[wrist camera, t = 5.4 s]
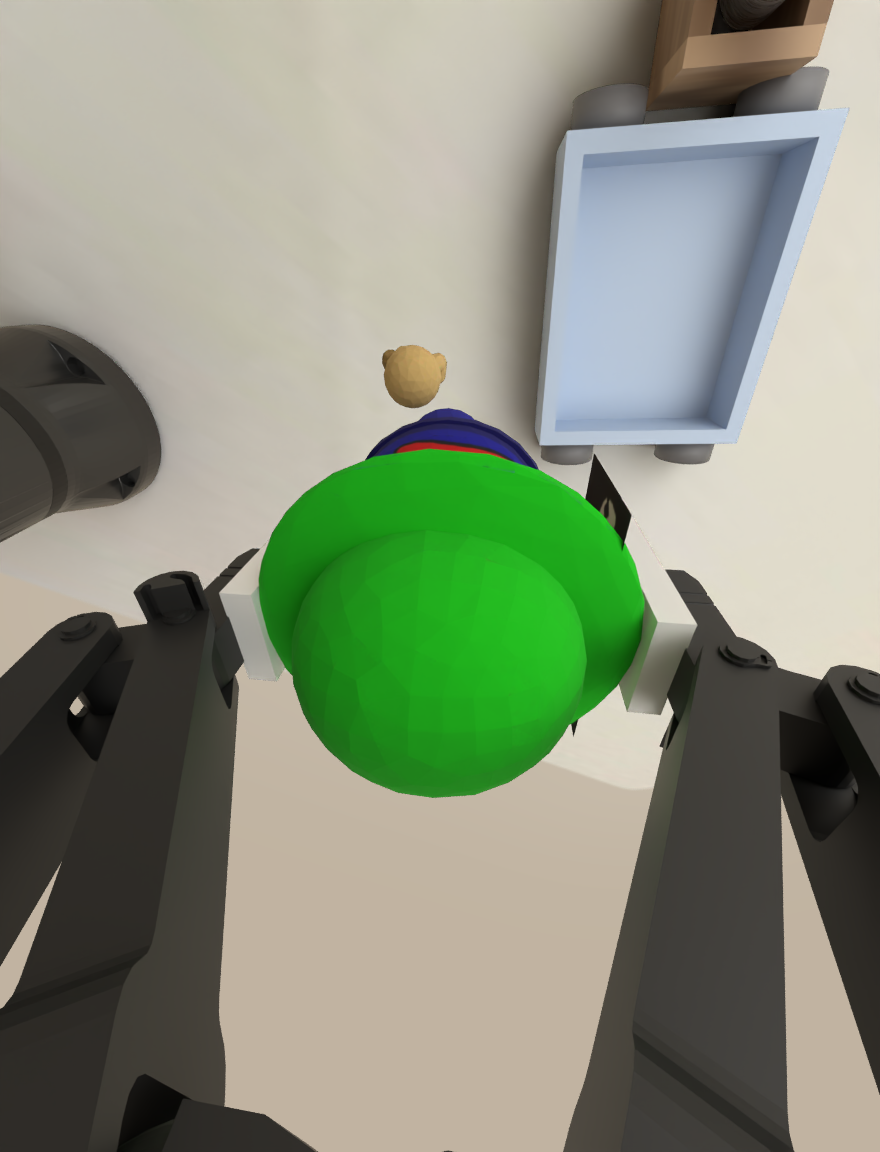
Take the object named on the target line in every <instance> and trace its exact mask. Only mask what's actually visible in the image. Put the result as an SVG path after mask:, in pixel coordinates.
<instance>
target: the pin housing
mask: <svg viewBox="0 0 880 1152" xmlns="http://www.w3.org/2000/svg"><path fill="white" fill-rule="evenodd" d="M833 1H834V0H785V1H784V2H783V3H782V4H781V5H780V6H779V7H778V8H777V9H776V10H775V11H774V12H773V13H772V14H771V15H769V16H768V17H767V18H766V19H765V20H764V21H763V22H762V23H760V24H759V25H757V26H755V27H753V28H752V30H751V31H745V32H735V33H725V34H715V35H711V30H712V25H713V20H714V15H715V10H716V5H717V0H662V6H661V12H660V19H659V25H658V31H657V38H656V44H655V51H654V57H653V64H652V70H651V76H650V83H649V89H648V90H649V93H648V99H647V106H646V111H655V110H667V109H679V108H691V107H703V106H714V105H726V104H736V103H737V99H738V95H739V94H740V93H741V92H742V91H743V90H745V89H747V88H748V87H750V86H753V85H755V84H758V83H760V82H763V81H766V80H769V79H773V78H777V77H781V76H786V75H791V74H793V73H794V72H796V71H797V70H799V69H800V68H801V67H803V66H804V65H806V64H807V63H808V62H810V61H811V60H813V59H814V58H815V57H817V56H818V52H819V49H820V45H821V42H822V39H823V35H824V32H825V28H826V25H827V22H828V18H829V15H830V11H831V8H832V5H833Z"/></svg>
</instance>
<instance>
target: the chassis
mask: <svg viewBox="0 0 880 1152" xmlns="http://www.w3.org/2000/svg"><path fill="white" fill-rule="evenodd" d="M828 75H829V70H828V69H826V68H823V67H801V68H800V69H799V70H797V71H796V72H794V73H793V74H791V75H786V76H781V77H777V78H773V79H769V80H766V81H763V82H760V83H758V84H755V85H753V86H750V87H748V88H747V89H745V90H743V91H742V92H741V93H740V94H739V95H738V99H737V103H736V107H735V111H734V116H733V117H728V118H716V119H704V120H691V121H679V122H667V123H655V124H644V119H645V112H646V106H647V99H648V93H649V90H648V88H647V87H645V86H643V85H639V84H614V85H608V86H603V87H599V88H596V89H592V90H590V91H587V92H585V93H583V94H581V95H579V96H578V97H577V98H575V100H574V101H573V108H572V120H571V130H569V131H567V132H566V134H565V136H564V138H563V140H562V142H561V144H560V146H559V149H558V151H557V153H556V166H555V179H554V191H553V204H552V216H551V229H550V241H549V254H548V266H547V279H546V291H545V304H544V317H543V329H542V342H541V354H540V367H539V379H538V392H537V404H536V417H535V433H536V436H537V439H538V442H539V445H542V450H541V458H542V459H543V460H545V461H547V462H550V463H554V464H561V465H577V464H583V463H586V462H589V461H590V460H591V458H592V452H593V445H631V444H656V447H655V451H654V455H655V456H656V457H657V458H659V459H661V460H664V461H667V462H672V463H678V464H701V463H705V462H708V461H709V460H710V456H711V453H712V450H713V447H714V444H732V443H737V441H738V438H739V435H740V432H741V429H742V426H743V423H744V420H745V417H746V414H747V411H748V408H749V405H750V402H751V399H752V396H753V393H754V390H755V387H756V384H757V381H758V378H759V375H760V372H761V369H762V366H763V363H764V360H765V358H766V355H767V352H768V349H769V346H770V343H771V340H772V337H773V334H774V331H775V328H776V325H777V322H778V319H779V316H780V313H781V310H782V307H783V304H784V301H785V298H786V295H787V292H788V289H789V286H790V283H791V280H792V277H793V274H794V271H795V268H796V266H797V263H798V260H799V257H800V254H801V251H802V248H803V245H804V242H805V239H806V236H807V233H808V230H809V227H810V224H811V221H812V218H813V215H814V212H815V209H816V206H817V203H818V200H819V197H820V194H821V191H822V188H823V185H824V182H825V179H826V176H827V173H828V171H829V168H830V165H831V162H832V159H833V156H834V153H835V150H836V147H837V144H838V141H839V138H840V135H841V132H842V129H843V126H844V123H845V120H846V117H847V114H848V111H849V108H839V109H826V110H818V107H819V104H820V100H821V97H822V94H823V91H824V88H825V84H826V81H827V78H828Z"/></svg>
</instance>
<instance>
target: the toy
mask: <svg viewBox="0 0 880 1152" xmlns="http://www.w3.org/2000/svg"><path fill="white" fill-rule="evenodd" d="M382 364H383V366H384V369H385V372H384V380H385V386H386V388H387V390H388V393H389V395H390V396H391V397H392V398H393V399H394V401H395V402H397V403H398V404H400V405H402V406H405V407H408V408H419V407H422V406H424V405H426V404H428V403H429V402H430V401H431V400H432V399H433V398H434V397H435V396H436V394H437V392H438V389H439V386H440V383H442V382H443V381H444V379H445V375H446V366H447V362H446V359H445V357H444V356H443V355H442V354H440V353H436V354H431V353H430V352H429V351H427V350H426V349H424V348H423V347H419V346H415V345H408V346H400V347H399V348H398V349H397V350H396V351H394V350H387V351H386V352H385V353H384V354H383V357H382ZM631 516H632V514H631V513H630V511H629V510H628V508H627V506H626V505H625V503H624V501H623V500H622V498H621V496H620V495H619V493H618V492H617V490H616V488H615V487H614V485H613V483H612V482H611V480H610V478H609V477H608V475H607V473H606V472H605V470H604V469H603V467H602V465H601V464H600V462H599V460H598V459H597V457H596V455H595V454H594V457H593V463H592V468H591V473H590V478H589V483H588V488H587V493H586V499H584V498H583V497H582V496H581V495H580V494H579V493H578V492H576V491H574V490H573V489H571V488H569V487H567V486H566V485H564V484H562V483H561V482H559V481H557V480H556V479H554V478H552V477H550V476H549V475H547V474H545V473H544V472H542V471H540V470H539V469H538V467H537V465H536V463H535V462H534V460H533V459H532V458H531V457H530V456H529V455H528V453H527V452H526V451H525V450H524V449H523V447H522V446H521V445H520V444H519V443H518V442H517V441H515V440H514V439H512V438H511V437H509V436H508V435H507V434H505V433H504V432H502V431H501V430H499V429H497V428H495V427H492V426H489V425H487V424H484V423H482V422H479V421H477V420H474V419H473V418H472V417H471V416H469V415H468V414H466V413H464V412H462V411H460V410H455V409H450V408H447V409H438V410H435V411H432V412H430V413H428V414H426V415H424V416H423V417H422V418H421V419H420V420H419V421H417V422H414V423H411V424H408V425H405V426H403V427H401V428H399V429H398V430H396V431H395V432H393V433H392V434H390V435H389V436H387V437H385V438H384V439H382V440H381V441H380V442H379V443H378V444H377V445H376V446H375V447H374V448H373V450H372V451H371V452H370V453H369V455H368V456H367V458H366V459H365V461H362V462H360V463H358V464H355V465H353V466H350V467H348V468H345V469H343V470H340V471H338V472H335V473H333V474H331V475H330V476H328V477H327V478H326V479H324V480H323V481H321V482H320V483H318V484H317V485H315V486H314V487H312V488H311V489H310V490H308V491H307V492H305V493H304V494H303V495H302V496H301V497H300V498H299V499H298V500H297V501H296V502H295V503H294V504H293V505H292V506H291V507H290V508H289V509H288V510H287V512H286V513H285V514H284V516H283V517H282V519H281V520H280V522H279V523H278V525H277V526H276V528H275V529H274V531H273V532H272V535H271V537H270V540H269V543H268V545H267V548H266V551H265V553H264V556H263V559H262V562H261V568H260V573H259V597H260V605H261V610H262V614H263V618H264V621H265V625H266V629H267V632H268V636H269V638H270V640H271V642H272V644H273V646H274V648H275V650H276V652H277V654H278V656H279V658H280V659H281V661H282V663H283V664H284V666H285V668H286V669H287V670H288V671H289V672H290V674H291V675H292V676H293V684H294V687H295V690H296V693H297V696H298V699H299V702H300V705H301V708H302V711H303V714H304V715H305V717H306V719H307V721H308V723H309V724H310V726H311V728H312V730H313V731H314V732H315V734H316V735H317V736H318V738H319V739H320V740H321V742H322V743H323V744H324V746H325V747H326V748H327V749H328V750H329V751H330V752H331V753H332V754H333V755H334V756H336V757H337V758H338V759H339V760H340V761H341V762H342V763H343V764H345V765H346V766H347V767H348V768H349V769H350V770H351V771H353V772H355V773H357V774H358V775H360V776H362V777H364V778H365V779H367V780H369V781H371V782H373V783H376V784H378V785H380V786H383V787H385V788H388V789H390V790H393V791H395V792H398V793H404V794H410V795H417V796H425V797H432V798H437V797H451V796H466V795H476V794H478V793H481V792H483V791H487V790H489V789H492V788H495V787H497V786H500V785H503V784H505V783H508V782H510V781H512V780H513V779H515V778H516V777H518V776H519V775H521V774H523V773H524V772H525V771H527V770H528V769H530V768H532V767H533V766H534V765H536V764H537V763H538V762H539V761H540V760H542V759H543V758H544V757H545V756H546V755H547V754H549V753H550V751H551V750H552V749H553V747H554V746H555V745H556V744H557V742H558V741H559V740H560V738H561V737H562V736H563V734H564V732H565V731H566V729H567V727H568V725H570V724H571V725H572V731H573V737H574V733H575V729H576V726H577V722H578V719H579V718H581V717H582V716H583V715H585V714H586V713H588V712H589V711H590V710H592V709H593V708H595V707H596V706H597V705H598V704H599V703H600V702H601V701H602V700H603V699H604V698H605V697H606V696H607V695H608V694H609V693H610V692H611V691H613V690H614V689H615V688H616V687H617V685H618V684H619V682H620V681H621V679H622V678H623V676H624V675H625V673H626V672H627V671H628V669H629V668H630V666H631V665H632V662H633V659H634V657H635V654H636V651H637V649H638V646H639V644H640V641H641V636H642V625H643V615H644V604H645V601H644V597H643V593H642V589H641V585H640V581H639V577H638V573H637V568H636V564H635V562H634V560H633V558H632V556H631V554H630V552H629V550H628V548H627V546H626V544H625V539H626V535H627V531H628V528H629V524H630V520H631Z"/></svg>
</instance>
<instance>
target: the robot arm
mask: <svg viewBox="0 0 880 1152" xmlns="http://www.w3.org/2000/svg"><path fill="white" fill-rule="evenodd" d="M160 459H161V444H160V438H159V433H158V429H157V426H156V423H155V420H154V418H153V415H152V413H151V411H150V409H149V407H148V405H147V403H146V401H145V399H144V398H143V396H142V395H141V393H140V392H139V390H138V389H137V387H136V386H135V385H134V383H133V382H132V381H131V379H130V378H129V377H128V376H127V375H126V374H125V373H124V371H123V370H122V369H121V368H120V367H119V366H118V365H117V364H116V363H115V362H114V361H112V360H111V359H110V358H109V357H108V356H107V355H105V354H104V353H103V352H102V351H100V350H99V349H97V348H96V347H95V346H93V345H92V344H90V343H88V342H87V341H85V340H83V339H82V338H80V337H78V336H76V335H74V334H72V333H69V332H67V331H64V330H61V329H58V328H54V327H51V326H45V325H19V326H7V327H0V543H1V542H2V541H4V540H6V539H8V538H10V537H12V536H14V535H15V534H17V533H19V532H21V531H23V530H25V529H27V528H28V527H30V526H32V525H34V524H36V523H38V522H39V521H41V520H43V519H45V518H47V517H49V516H51V515H53V514H55V513H61V512H68V511H76V510H83V509H90V508H97V507H105V506H111V505H115V504H118V503H121V502H123V501H126V500H127V499H129V498H131V497H133V496H134V495H136V494H138V493H140V492H141V491H143V490H144V489H146V488H147V487H148V486H149V485H150V484H151V482H152V481H153V480H154V478H155V476H156V474H157V472H158V469H159V465H160ZM621 498H622V497H621ZM622 500H623V501H624V499H623V498H622ZM624 503H625V501H624ZM625 505H626V503H625ZM626 506H627V505H626ZM627 508H628V506H627ZM628 510H629V508H628ZM629 511H630V510H629ZM630 513H631V511H630ZM631 514H632V513H631ZM269 540H270V539H269ZM268 543H269V541H268V542H267V543H266V544H265V545H264V546H263V547H262V548H261V549H254V548H253V549H251V550H249V551H247V552H245V553H243V554H242V555H240V556H238V557H237V558H236V559H235V560H234V561H233V562H232V563H231V564H230V565H229V566H228V569H227V568H226V569H225V570H224V571H223V572H222V573H221V574H220V577H217V578H216V579H215V580H214V581H213V582H212V583H211V584H210V585H209V586H208V587H207V588H206V589H205V590H204V591H203V588H202V585H201V583H200V580H199V577H198V576H197V575H196V574H194V573H193V572H188V571H174V572H168V573H164V574H160V575H158V576H155V577H153V578H150V579H148V580H146V581H145V582H143V583H142V584H140V585H139V586H138V587H137V588H136V590H135V591H134V592H133V593H134V595H135V597H136V599H137V601H138V603H139V605H140V607H141V609H142V611H143V613H144V615H145V617H146V619H147V621H148V622H147V624H142V625H135V626H128V627H121V628H118V627H117V625H116V623H115V621H114V619H113V618H112V616H111V615H109V614H107V613H103V612H92V613H86V614H80V615H77V616H74V617H71V618H68V619H67V620H65V621H64V622H61V623H59V624H57V625H56V626H55V627H53V628H52V629H51V630H49V631H48V632H47V633H46V634H45V635H44V636H43V637H42V638H41V639H40V640H39V641H38V642H37V643H36V644H35V645H34V646H33V647H32V648H31V649H30V650H29V651H27V652H26V653H25V654H24V655H23V657H21V658H20V659H19V660H18V661H17V662H16V663H15V664H14V665H13V666H12V667H11V668H10V669H9V670H8V671H7V672H6V673H5V674H4V675H3V676H2V677H1V678H0V966H1V964H2V963H3V961H4V959H5V957H6V956H7V954H8V952H9V951H10V949H11V947H12V945H13V944H14V942H15V940H16V939H17V937H18V935H19V934H20V932H21V930H22V928H23V927H24V925H25V923H26V922H27V920H28V918H29V917H30V915H31V913H32V911H33V910H34V908H35V906H36V905H37V903H38V901H39V899H40V898H41V896H42V894H43V892H44V891H45V889H46V887H47V886H48V884H49V882H50V881H51V879H52V877H53V875H54V873H55V872H56V870H57V868H58V867H59V865H60V864H61V866H60V868H59V871H58V874H57V877H56V880H55V882H54V885H53V888H52V891H51V894H50V896H49V899H48V902H47V905H46V908H45V910H44V914H43V916H42V919H41V922H40V924H39V927H38V930H37V933H36V936H35V939H34V941H33V944H32V947H31V950H30V953H29V955H28V958H27V962H26V964H25V967H24V969H23V972H22V975H21V978H20V980H19V983H18V985H17V987H16V989H15V992H14V993H13V995H12V997H11V998H10V999H9V1000H8V1002H7V1003H6V1004H5V1006H4V1007H3V1008H1V1009H0V1152H318V1151H316V1150H315V1149H313V1148H312V1147H311V1146H309V1145H308V1144H307V1143H305V1142H304V1141H302V1140H301V1139H299V1138H298V1137H297V1136H295V1135H293V1134H292V1133H291V1132H289V1131H288V1130H286V1129H285V1128H284V1127H282V1126H281V1125H279V1124H278V1123H276V1122H275V1121H273V1120H272V1119H271V1118H269V1117H268V1116H266V1115H264V1114H259V1113H254V1112H249V1111H244V1110H239V1109H234V1108H229V1107H224V1103H225V1068H226V1067H225V1066H226V1065H225V1051H224V1043H223V1038H222V1033H221V1028H220V1021H219V991H220V976H221V960H222V945H223V929H224V913H225V897H226V882H227V865H228V850H229V834H230V818H231V802H232V787H233V771H234V755H235V754H234V753H235V739H236V724H237V708H238V692H239V686H238V682H237V679H236V676H235V674H236V672H237V671H238V669H239V668H240V667H241V665H242V664H243V663H244V666H245V669H246V671H247V674H248V677H249V679H257V680H268V681H277V680H278V678H279V677H280V675H281V673H282V672H283V670H284V668H285V666H284V664H283V663H282V661H281V659H280V658H279V656H278V654H277V652H276V650H275V648H274V646H273V644H272V642H271V640H270V638H269V636H268V632H267V629H266V625H265V621H264V618H263V614H262V610H261V605H260V597H259V573H260V568H261V562H262V559H263V556H264V553H265V551H266V548H267V545H268ZM625 544H626V546H627V548H628V550H629V552H630V554H631V556H632V558H633V560H634V562H635V564H636V568H637V573H638V577H639V581H640V585H641V589H642V593H643V597H644V601H645V604H644V615H643V625H642V636H641V641H640V644H639V646H638V649H637V651H636V654H635V657H634V659H633V662H632V665H631V666H630V668H629V669H628V671H627V672H626V673H625V675H624V676H623V678H622V679H621V681H620V682H619V686H620V690H621V693H622V696H623V700H624V703H625V706H626V710H627V712H634V713H645V714H657V715H661V713H662V710H663V708H664V705H665V703H666V700H667V698H668V699H669V702H670V704H671V707H672V709H673V711H674V714H673V716H672V718H671V721H670V723H669V725H668V728H667V730H666V732H665V735H664V737H663V739H662V742H661V744H660V747H662V748H663V751H662V755H661V760H660V764H659V768H658V772H657V777H656V781H655V785H654V789H653V794H652V798H651V802H650V807H649V811H648V815H647V820H646V824H645V828H644V832H643V836H642V841H641V845H640V849H639V854H638V858H637V862H636V866H635V870H634V875H633V879H632V883H631V888H630V892H629V896H628V901H627V905H626V909H625V913H624V918H623V922H622V926H621V930H620V935H619V939H618V943H617V948H616V952H615V956H614V960H613V964H612V969H611V973H610V977H609V982H608V986H607V990H606V994H605V998H604V1003H603V1007H602V1011H601V1016H600V1020H599V1024H598V1028H597V1033H596V1037H595V1041H594V1045H593V1050H592V1054H591V1059H590V1063H589V1067H588V1070H587V1074H586V1078H585V1082H584V1085H583V1088H582V1091H581V1094H580V1096H579V1099H578V1102H577V1105H576V1108H575V1111H574V1114H573V1117H572V1121H571V1124H570V1127H569V1131H568V1135H567V1139H566V1143H565V1147H564V1151H563V1152H794V1150H793V1146H792V1142H791V1138H790V1134H789V1124H788V1114H787V1113H788V1112H787V1066H786V1018H785V969H784V922H783V878H782V877H783V874H782V831H781V830H782V829H781V828H782V826H781V796H782V798H783V801H784V805H785V808H786V811H787V814H788V817H789V820H790V823H791V826H792V829H793V832H794V835H795V838H796V841H797V844H798V847H799V850H800V853H801V856H802V859H803V862H804V865H805V869H806V872H807V875H808V878H809V881H810V883H811V887H812V890H813V893H814V896H815V899H816V902H817V905H818V908H819V911H820V914H821V917H822V920H823V923H824V926H825V929H826V932H827V936H828V939H829V941H830V945H831V948H832V951H833V954H834V957H835V960H836V963H837V966H838V969H839V972H840V975H841V978H842V981H843V984H844V987H845V990H846V993H847V996H848V999H849V1002H850V1005H851V1009H852V1012H853V1015H854V1018H855V1021H856V1024H857V1027H858V1030H859V1033H860V1036H861V1039H862V1042H863V1045H864V1048H865V1051H866V1054H867V1057H868V1060H869V1063H870V1066H871V1069H872V1073H873V1075H874V1079H875V1082H876V1085H877V1087H878V1091H879V1094H880V674H879V673H877V672H874V671H871V670H867V669H864V668H860V667H857V666H848V665H839V666H835V667H831V668H830V669H829V671H828V672H827V673H826V675H825V676H824V678H823V679H822V680H820V679H816V678H812V677H809V676H805V675H801V674H798V673H794V672H790V671H787V670H784V669H781V668H778V666H777V664H776V661H775V659H774V658H773V657H772V656H771V655H770V654H769V653H768V652H767V651H766V650H765V649H763V648H761V647H760V646H758V645H757V644H755V643H753V642H751V641H748V640H746V639H743V638H740V637H736V635H735V634H734V632H733V631H732V629H731V628H730V626H729V625H728V624H727V622H726V621H725V619H724V618H723V616H722V615H721V613H720V612H719V610H718V609H717V607H716V606H714V603H713V602H712V600H711V599H710V597H709V596H707V593H706V591H705V590H704V588H703V587H702V585H701V584H700V583H699V581H697V580H696V579H695V578H693V577H692V576H690V575H689V574H688V573H686V572H685V571H683V570H665V569H664V567H663V566H662V564H661V562H660V561H659V559H658V557H657V555H656V554H655V552H654V550H653V549H652V547H651V545H650V544H649V542H648V540H647V538H646V537H645V535H644V533H643V532H642V530H641V528H640V527H639V525H638V523H637V522H636V520H635V518H634V516H633V515H632V516H631V520H630V524H629V528H628V531H627V535H626V539H625ZM77 696H78V698H79V699H80V701H81V702H82V704H83V705H84V707H83V708H82V709H81V711H80V712H79V713H78V714H77V715H74V714H73V713H72V712H71V710H70V709H69V708H70V706H71V704H72V703H73V701H74V700H75V699H76V698H77ZM61 862H62V863H61ZM444 1152H452V1151H444Z"/></svg>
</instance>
